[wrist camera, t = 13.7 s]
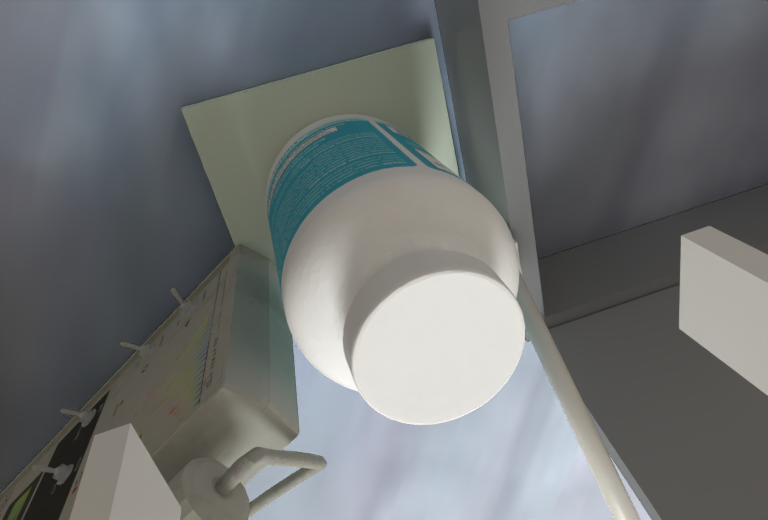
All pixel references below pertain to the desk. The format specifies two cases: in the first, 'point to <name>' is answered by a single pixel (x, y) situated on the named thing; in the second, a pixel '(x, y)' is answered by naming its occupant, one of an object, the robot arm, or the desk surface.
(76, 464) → the geiger counter
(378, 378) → the pill bottle
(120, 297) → the desk surface
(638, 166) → the desk surface
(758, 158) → the desk surface
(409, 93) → the mat
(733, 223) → the case
